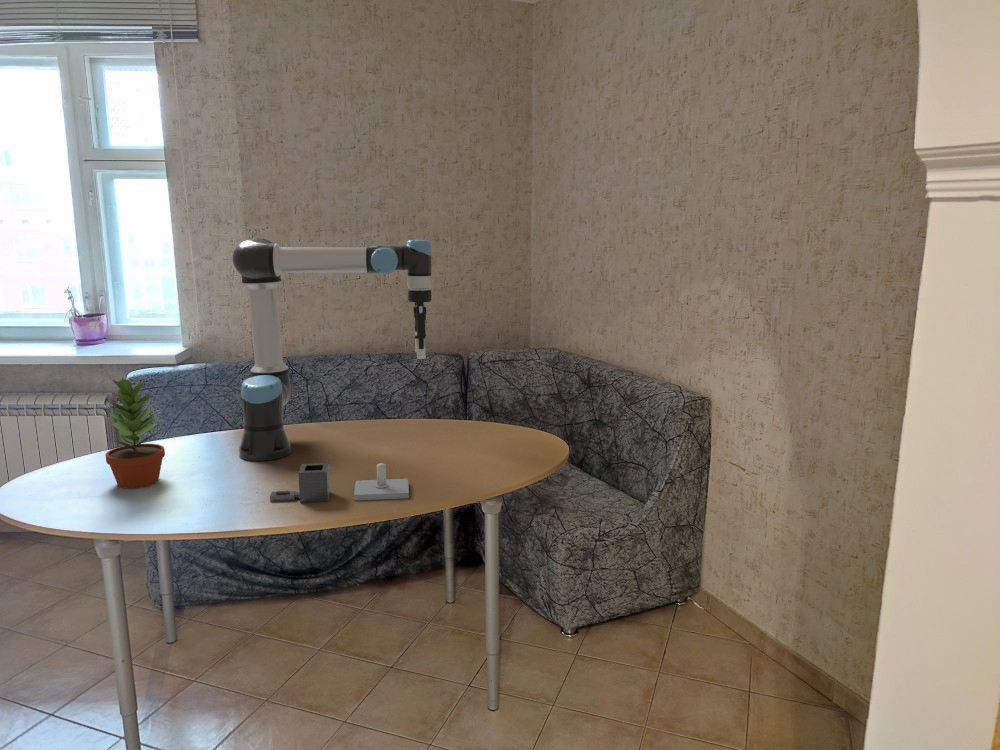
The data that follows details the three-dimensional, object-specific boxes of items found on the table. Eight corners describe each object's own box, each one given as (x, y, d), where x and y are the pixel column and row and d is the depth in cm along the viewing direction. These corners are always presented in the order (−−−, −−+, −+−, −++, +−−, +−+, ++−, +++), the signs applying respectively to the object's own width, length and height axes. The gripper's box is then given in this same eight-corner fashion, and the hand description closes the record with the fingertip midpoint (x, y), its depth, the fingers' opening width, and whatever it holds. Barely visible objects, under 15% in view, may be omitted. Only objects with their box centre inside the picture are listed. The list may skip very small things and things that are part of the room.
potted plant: (180, 478, 210) (171, 372, 204) (130, 495, 197) (119, 382, 191) (146, 469, 217) (137, 366, 211) (96, 484, 204) (84, 376, 198)
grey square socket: (269, 504, 191) (267, 473, 190) (273, 494, 198) (271, 465, 196) (328, 501, 193) (326, 471, 192) (330, 492, 200) (329, 463, 198)
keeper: (353, 500, 194) (352, 472, 193) (356, 485, 205) (355, 459, 203) (408, 498, 196) (408, 470, 194) (408, 483, 207) (407, 457, 205)
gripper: (434, 292, 229) (434, 361, 233) (429, 285, 253) (429, 348, 257) (409, 292, 227) (409, 362, 232) (406, 285, 252) (407, 348, 256)
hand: (420, 355), depth 244 cm, fingers open, 13 cm apart
